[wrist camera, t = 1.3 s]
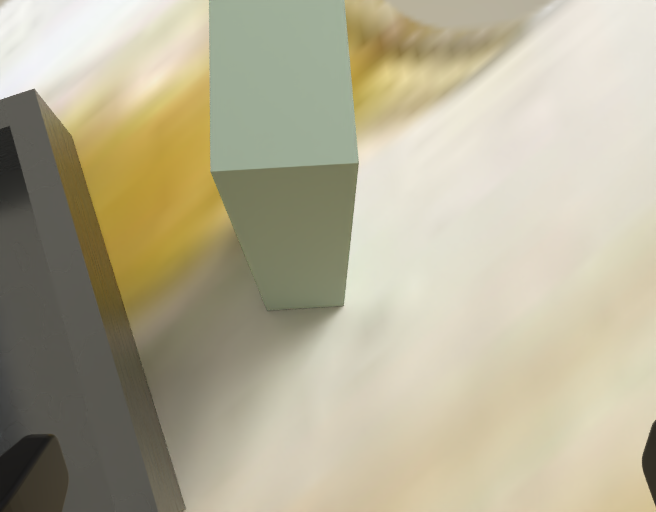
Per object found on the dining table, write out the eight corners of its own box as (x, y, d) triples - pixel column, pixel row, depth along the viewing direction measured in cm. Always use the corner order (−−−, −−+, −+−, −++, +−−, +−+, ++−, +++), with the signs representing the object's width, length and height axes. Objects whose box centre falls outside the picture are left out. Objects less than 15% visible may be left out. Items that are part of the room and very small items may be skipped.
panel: (335, 202, 26) (343, -15, 14) (343, 305, 25) (358, 162, 13) (263, 206, 26) (208, -8, 14) (267, 310, 25) (210, 171, 13)
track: (185, 509, 22) (160, 518, 19) (-4, 587, 22) (-66, 612, 18) (71, 135, 27) (34, 88, 24) (-88, 189, 26) (-151, 149, 23)
